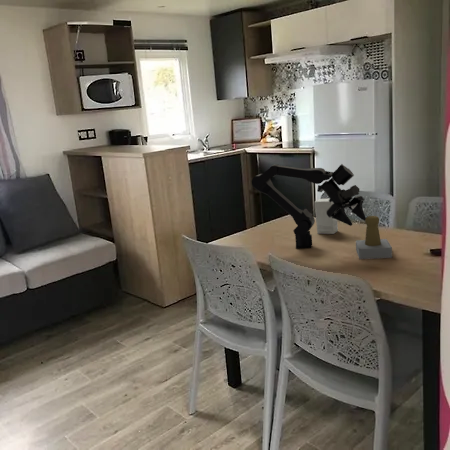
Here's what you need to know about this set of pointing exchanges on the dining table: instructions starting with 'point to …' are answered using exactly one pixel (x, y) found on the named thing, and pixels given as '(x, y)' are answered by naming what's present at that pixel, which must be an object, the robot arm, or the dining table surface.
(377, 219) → the cork
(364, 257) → the podium
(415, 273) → the dining table surface
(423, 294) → the dining table surface
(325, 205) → the skincare box
